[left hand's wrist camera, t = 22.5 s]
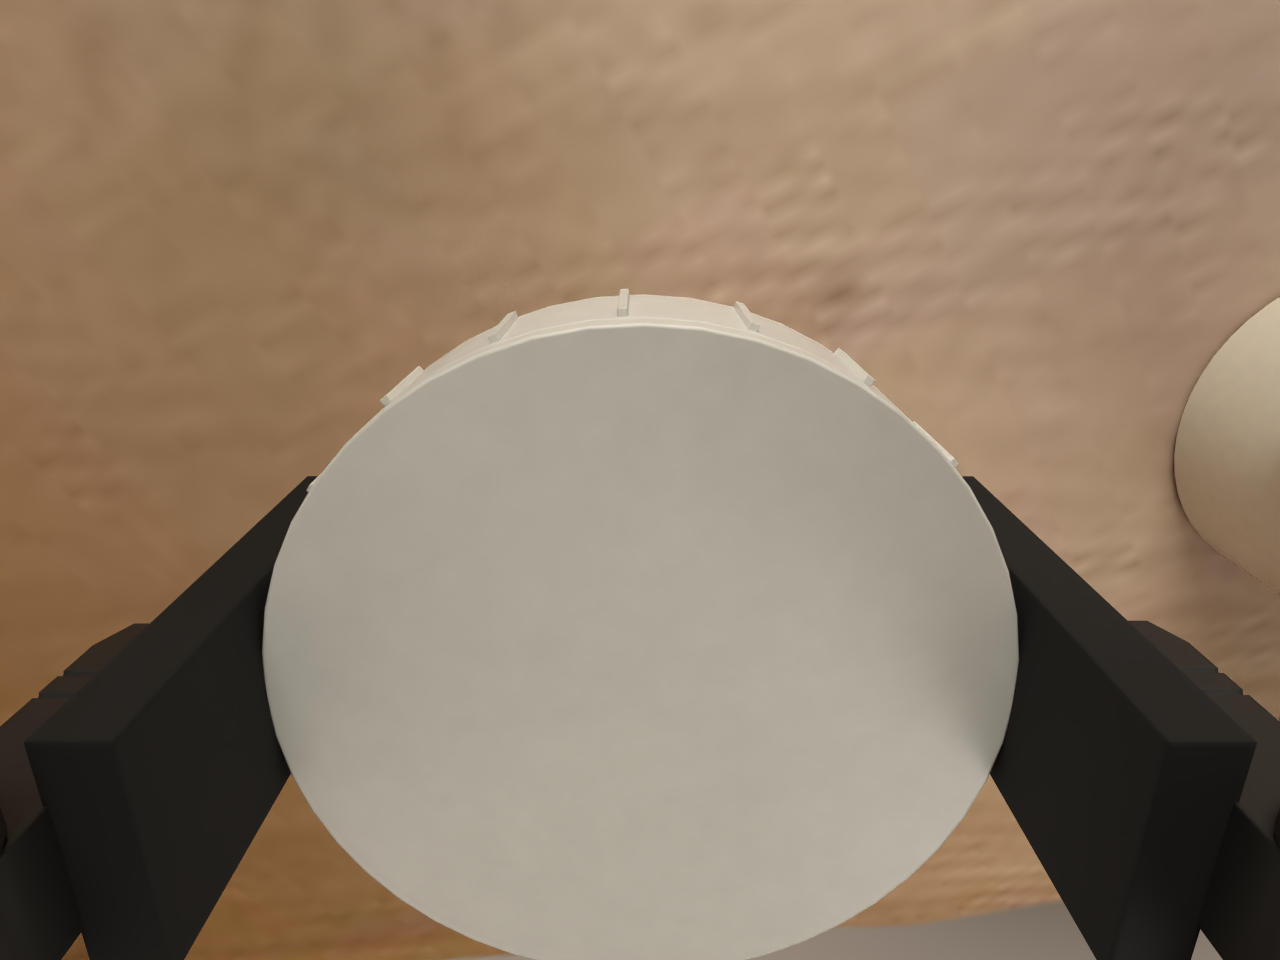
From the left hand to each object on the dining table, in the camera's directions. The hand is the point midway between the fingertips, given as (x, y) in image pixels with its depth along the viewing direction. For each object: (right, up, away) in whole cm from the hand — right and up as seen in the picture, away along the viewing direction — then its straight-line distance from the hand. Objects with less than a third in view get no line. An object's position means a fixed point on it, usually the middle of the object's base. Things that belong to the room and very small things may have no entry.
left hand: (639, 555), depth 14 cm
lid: (0, -1, -3) cm, 4 cm away
